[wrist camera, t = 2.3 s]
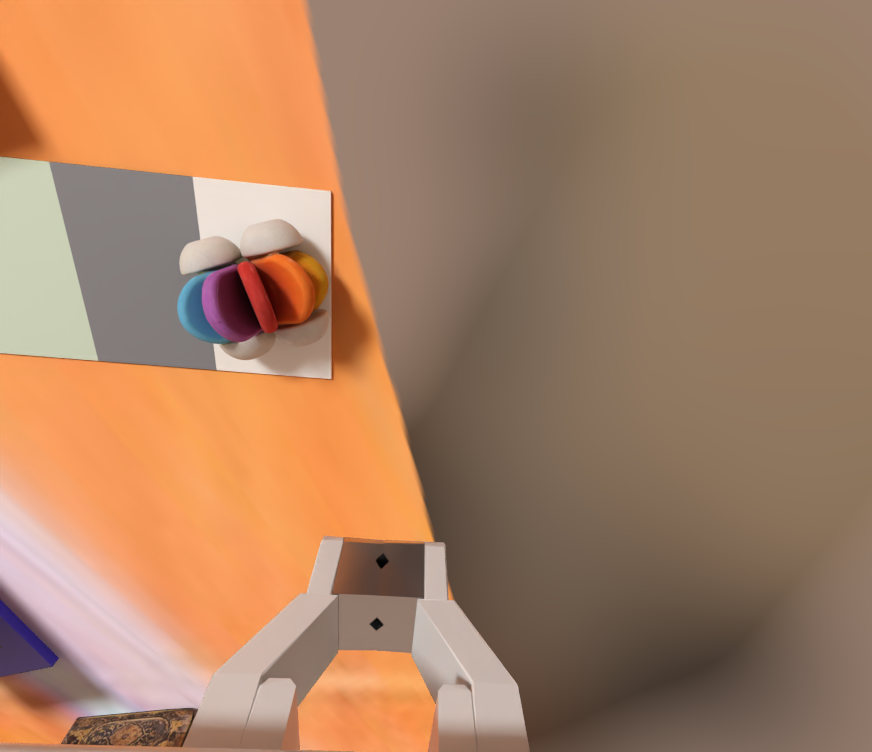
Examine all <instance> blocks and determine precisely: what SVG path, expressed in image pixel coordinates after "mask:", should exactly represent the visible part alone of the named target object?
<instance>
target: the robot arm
mask: <svg viewBox="0 0 872 752" xmlns="http://www.w3.org/2000/svg"><path fill="white" fill-rule="evenodd" d="M338 650H377V651H391V652H406V653H411V655H412V657H413V659H414V661H415V663H416V665H417V667H418V669H419V671H420V673H421V675H422V677H423V680H424V682H425V684H426V686H427V688H428V690H429V692H430V694H431V696H432V698H433V700H434V702H435V704H436V707H435V712H434V718H433V724H432V730H431V736H430V742H429V748H428V752H530V751H529V746H528V740H527V734H526V729H525V723H524V718H523V713H522V707H521V701H520V696H519V690H518V685H517V684H516V682H515V681H514V680H513V678H512V677H511V676H510V674H509V673H508V672H507V670H506V669H505V668H504V666H503V665H502V664H501V662H500V661H499V660H498V658H497V657H496V655H495V654H494V653H493V651H492V650H491V649H490V647H489V646H488V645H487V644H486V642H485V641H484V639H483V638H482V637H481V635H480V634H479V633H478V631H477V630H476V629H475V627H474V626H473V625H472V623H471V622H470V621H469V619H468V618H467V617H466V615H465V614H464V613H463V611H462V610H461V609H460V607H459V606H458V605H457V603H456V602H455V601H453V600H448V582H447V564H446V547H445V544H444V543H439V542H421V541H398V540H374V539H362V538H350V537H332V536H324V537H323V539H322V541H321V544H320V548H319V551H318V555H317V558H316V562H315V565H314V569H313V572H312V576H311V579H310V583H309V586H308V590H307V593H300V594H299V595H298V596H297V597H296V598H295V599H293V600H292V601H291V602H290V603H289V604H288V605H287V606H286V607H285V608H284V609H283V610H282V611H281V612H279V613H278V614H277V615H276V616H275V617H274V618H273V619H272V620H271V621H270V622H269V623H268V624H267V625H265V626H264V627H263V628H262V629H261V630H260V631H259V632H258V633H257V634H256V635H255V636H254V637H253V638H251V639H250V640H249V641H248V642H247V643H246V644H245V645H244V646H243V647H242V648H241V649H240V650H239V651H237V652H236V653H235V654H234V655H233V656H232V657H231V658H230V659H229V660H228V661H227V662H226V663H225V664H223V665H222V666H221V667H220V668H219V669H218V670H217V671H216V672H215V673H214V674H213V676H212V679H211V681H210V683H209V686H208V688H207V690H206V693H205V695H204V697H203V700H202V702H201V705H200V707H199V709H198V712H197V714H196V716H195V719H194V721H193V723H192V726H191V728H190V730H189V733H188V735H187V737H186V740H185V742H184V744H183V747H152V746H112V745H72V744H32V743H0V752H353V751H312V750H300V743H299V726H298V709H297V707H298V706H299V704H300V703H301V702H302V700H303V699H304V698H305V696H306V695H307V694H308V692H309V691H310V689H311V688H312V687H313V685H314V684H315V683H316V681H317V680H318V679H319V677H320V676H321V675H322V673H323V672H324V671H325V669H326V668H327V667H328V665H329V664H330V663H331V661H332V660H333V659H334V657H335V656H336V655H337V653H338Z"/></svg>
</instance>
